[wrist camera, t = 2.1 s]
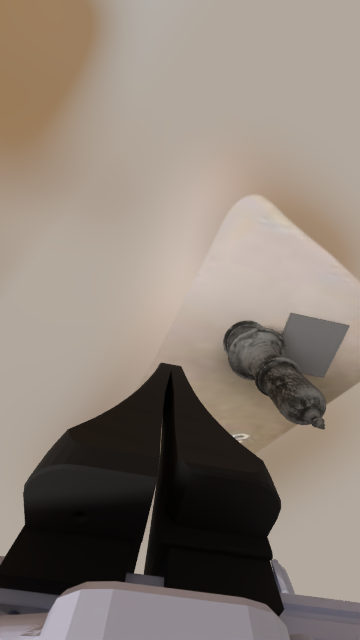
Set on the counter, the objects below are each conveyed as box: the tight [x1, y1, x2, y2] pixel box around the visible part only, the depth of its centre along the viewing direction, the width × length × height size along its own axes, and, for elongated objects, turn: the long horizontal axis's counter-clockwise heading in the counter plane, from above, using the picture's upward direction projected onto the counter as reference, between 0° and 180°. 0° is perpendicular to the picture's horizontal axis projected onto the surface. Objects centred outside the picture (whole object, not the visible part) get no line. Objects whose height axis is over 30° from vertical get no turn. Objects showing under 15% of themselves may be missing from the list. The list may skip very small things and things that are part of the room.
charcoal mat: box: [281, 313, 349, 378], centre depth 21 cm, size 7×7×1 cm
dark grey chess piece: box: [223, 321, 326, 429], centre depth 15 cm, size 6×6×12 cm
